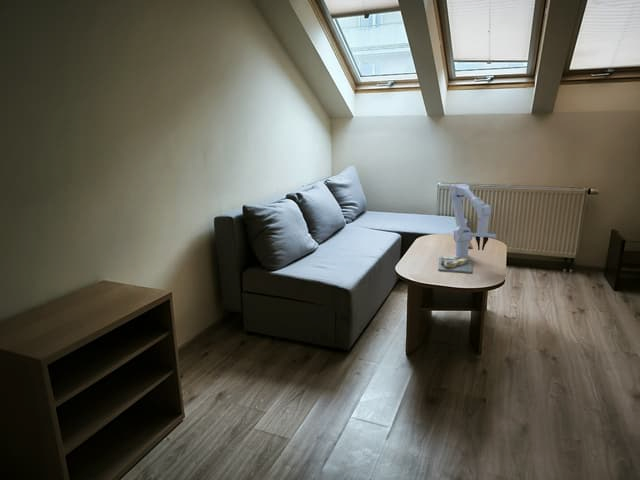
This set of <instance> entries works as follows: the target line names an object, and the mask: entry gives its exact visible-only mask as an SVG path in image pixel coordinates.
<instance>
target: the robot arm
mask: <svg viewBox="0 0 640 480" xmlns="http://www.w3.org/2000/svg"><path fill="white" fill-rule="evenodd" d="M449 195H450V199H451V202H452V208H453V215H454V220H455V224H456V228H455V229H454V231H453V240H454V242H455V244H456V245H455V252H454V259H462V258H467V259H469V249H468V247H469V243H471V241H472V240H473V238H475V241H476V243H477V250H478V251H480V249H481V250H482V251H484V249H485V246H486V244H487V243H488V242H489V239H496V238H497V235H496V234H493V233H488V231H489V224H490V223H489V221H490V216H491V215H492V213H493V207H492V206H491V205H490V204H486V203H485V202H484V201H483V200H482V199H481V197H478V196H476V195H475V194H473V192H472V190H471V189H470V185H468V184H467V183H464V184H463V183H462V184H452V185H451V186H450V188H449ZM465 198H466V199H468V200H469V201H470V205H471V207H473V208H474V209H475V210H476V211H475V212H476V218H477V228H476V232H472V231H471V229H470V227H468V226H467V223H466V219H465V213H464V207H463V203H462V201H463V199H465ZM481 238H482V247H481V246H480V245H481ZM469 260H470V259H469Z"/></svg>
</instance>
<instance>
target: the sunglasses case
mask: <svg viewBox="0 0 640 480" xmlns="http://www.w3.org/2000/svg"><path fill="white" fill-rule="evenodd" d="M468 250H474V247H473V245H472V243H471V242H470V243H469V247H468Z"/></svg>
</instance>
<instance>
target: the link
mask: <svg viewBox="0 0 640 480" xmlns="http://www.w3.org/2000/svg"><path fill="white" fill-rule="evenodd" d="M457 259H458V260H455V261H451V262H447V263H445V265H444V267H445V268H451V267H454V266H458V265H461V264H465V263H468V261H469V260H470V259H467V258H457Z"/></svg>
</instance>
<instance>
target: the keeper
mask: <svg viewBox="0 0 640 480" xmlns="http://www.w3.org/2000/svg"><path fill="white" fill-rule="evenodd" d="M440 258H441V265H444V260H453V259H454V257H453V256H452V257H451V256H443V255H442V256H440Z"/></svg>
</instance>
